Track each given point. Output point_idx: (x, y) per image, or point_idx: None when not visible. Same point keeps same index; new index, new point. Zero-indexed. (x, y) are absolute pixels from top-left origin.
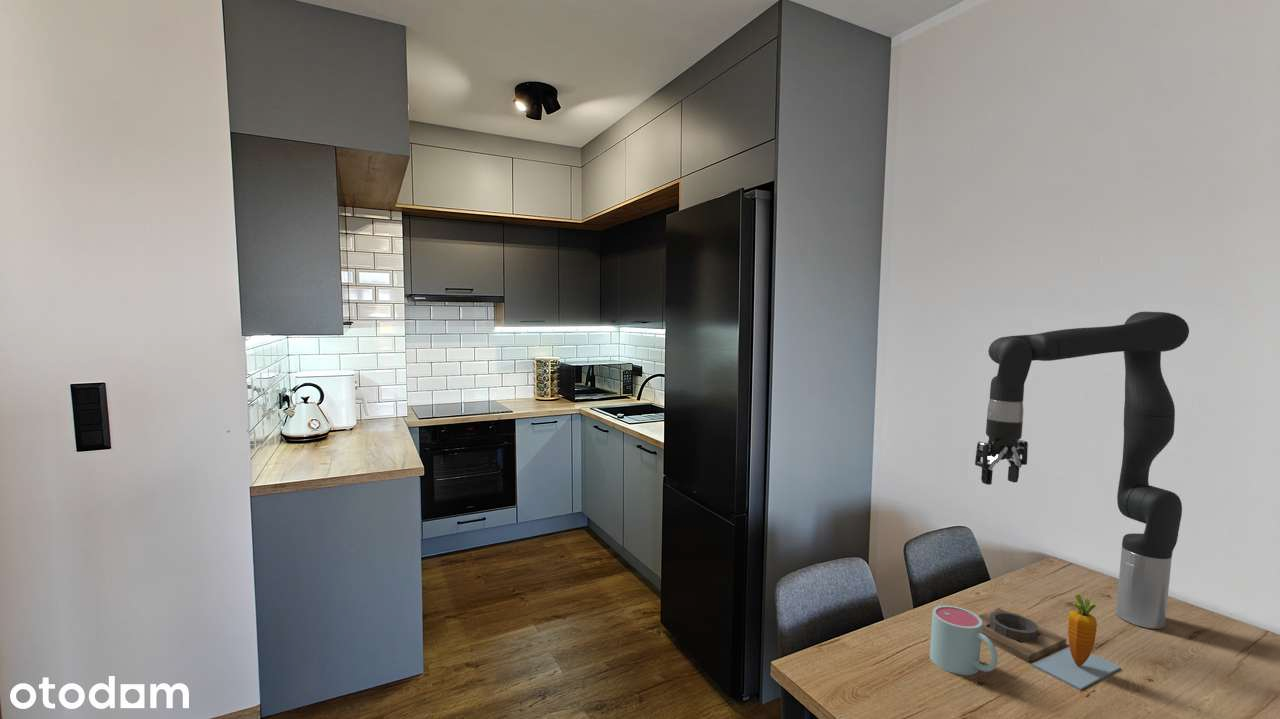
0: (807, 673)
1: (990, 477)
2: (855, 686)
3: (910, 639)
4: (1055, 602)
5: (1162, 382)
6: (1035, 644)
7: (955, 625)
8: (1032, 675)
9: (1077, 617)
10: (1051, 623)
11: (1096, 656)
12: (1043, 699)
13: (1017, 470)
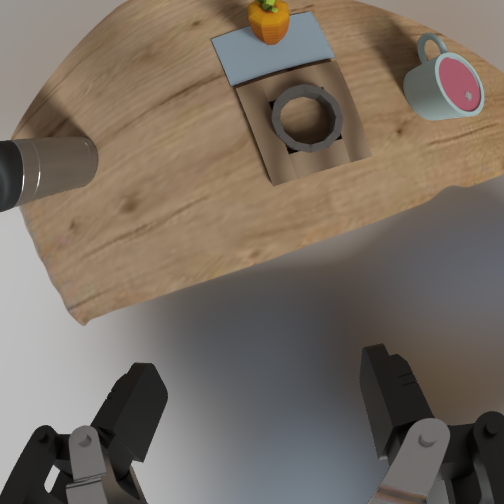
0: None
1: (392, 376)
2: None
3: (447, 150)
4: (148, 212)
5: None
6: (302, 79)
7: (472, 68)
8: (349, 43)
9: (285, 5)
10: (206, 149)
11: (221, 59)
12: (369, 14)
13: (111, 416)
